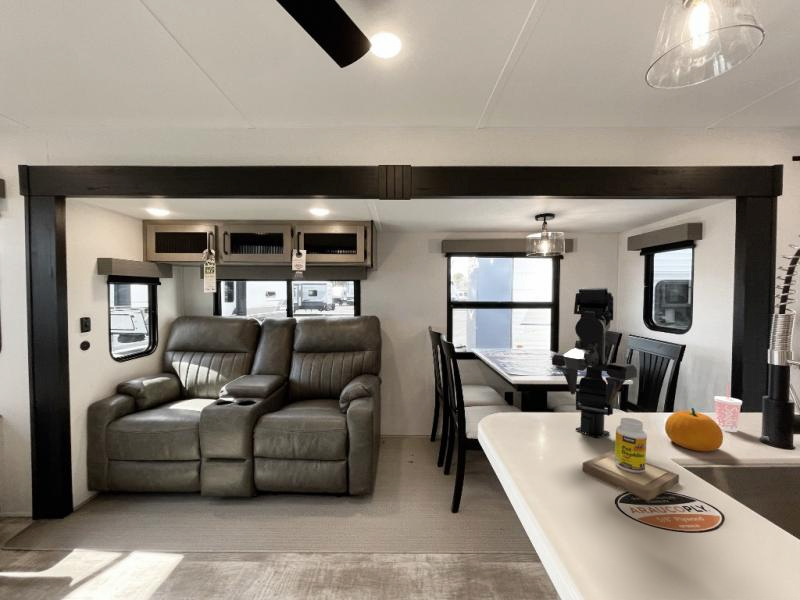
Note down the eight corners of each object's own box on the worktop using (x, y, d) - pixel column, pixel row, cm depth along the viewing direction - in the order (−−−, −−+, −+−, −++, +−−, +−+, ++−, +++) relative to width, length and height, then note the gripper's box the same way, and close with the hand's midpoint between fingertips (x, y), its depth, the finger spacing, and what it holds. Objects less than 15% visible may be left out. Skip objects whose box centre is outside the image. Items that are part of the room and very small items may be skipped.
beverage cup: (711, 428, 104) (713, 381, 104) (714, 423, 108) (715, 378, 108) (740, 434, 99) (742, 386, 99) (741, 429, 104) (743, 382, 103)
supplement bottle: (617, 470, 74) (619, 422, 73) (612, 459, 79) (613, 414, 78) (648, 476, 71) (650, 427, 71) (641, 464, 77) (643, 418, 76)
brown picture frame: (614, 457, 84) (614, 449, 84) (678, 483, 73) (678, 473, 73) (582, 470, 77) (582, 461, 77) (648, 501, 66) (648, 490, 66)
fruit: (658, 443, 93) (659, 406, 92) (671, 433, 100) (673, 398, 100) (716, 461, 83) (718, 419, 83) (727, 448, 90) (728, 410, 90)
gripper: (539, 334, 91) (537, 393, 92) (613, 344, 75) (611, 416, 76) (565, 332, 97) (563, 388, 97) (639, 341, 81) (636, 407, 81)
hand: (590, 399), depth 88 cm, fingers open, 9 cm apart
